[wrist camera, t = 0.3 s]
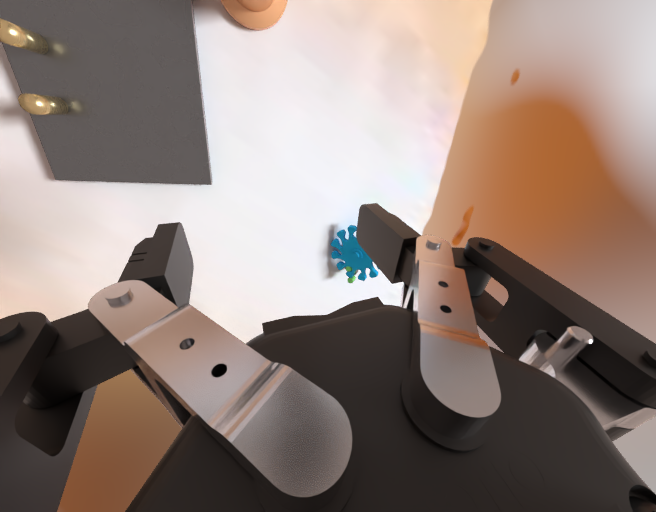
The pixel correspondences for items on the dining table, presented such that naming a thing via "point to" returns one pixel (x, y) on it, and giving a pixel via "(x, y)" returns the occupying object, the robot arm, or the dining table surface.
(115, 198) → the dining table surface
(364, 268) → the teal spiky virus model
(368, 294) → the dining table surface
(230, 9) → the orange flanged cylinder
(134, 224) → the dining table surface
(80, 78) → the base plate
